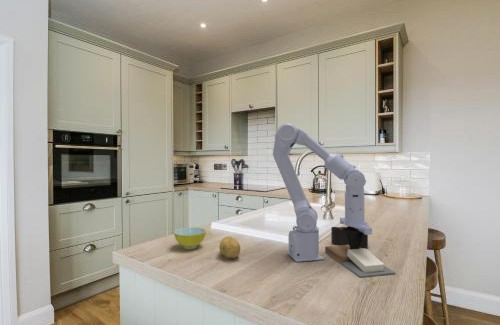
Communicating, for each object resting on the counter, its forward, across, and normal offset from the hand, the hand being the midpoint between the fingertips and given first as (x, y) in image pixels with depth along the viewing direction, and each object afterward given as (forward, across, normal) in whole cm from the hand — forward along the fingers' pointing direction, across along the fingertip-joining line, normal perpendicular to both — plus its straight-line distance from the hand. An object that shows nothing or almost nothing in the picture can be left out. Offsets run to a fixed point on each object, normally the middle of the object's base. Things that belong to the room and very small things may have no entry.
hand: (354, 251), depth 85 cm
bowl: (+3, +25, +51) cm, 57 cm away
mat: (+3, -6, 0) cm, 7 cm away
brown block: (+3, +4, 0) cm, 5 cm away
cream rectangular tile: (+2, -5, 0) cm, 5 cm away
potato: (+3, +13, +38) cm, 40 cm away
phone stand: (0, +13, -13) cm, 18 cm away
